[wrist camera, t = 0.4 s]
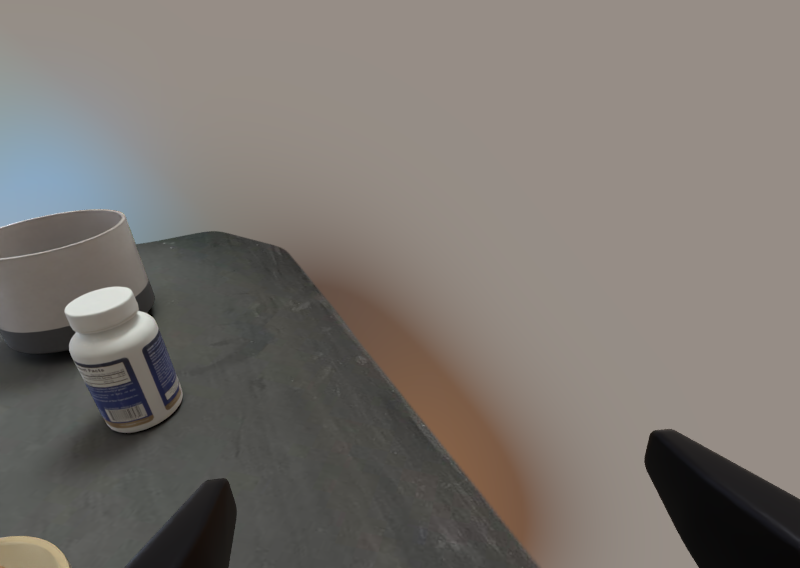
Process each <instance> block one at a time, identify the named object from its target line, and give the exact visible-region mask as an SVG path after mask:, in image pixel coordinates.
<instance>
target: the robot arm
mask: <svg viewBox="0 0 800 568" xmlns="http://www.w3.org/2000/svg"><path fill="white" fill-rule="evenodd" d="M645 467H646V469H647V472H648V474H649V476H650V478H651V480H652V482H653V484H654V486H655V488H656V490H657V492H658V494H659V496H660V498H661V500H662V501H663V504H664V505H665V508H666V510H667V512H668V514H669V516H670V517H671V519H672V522H673V523H674V526H675V527H676V529H677V531H678V533H679V535H680V537H681V539H682V541H683V542H684V544H685V546H686V547H687V549H688V551H689V552H690V554H691V556H692V557H693V559H694V560H695V562H696V564H697V565H698V567H699V568H800V499H798V498H797V497H795V496H793V495H791V494H789V493H787V492H786V491H784V490H782V489H780V488H779V487H777V486H775V485H773V484H771V483H769V482H768V481H766V480H764V479H762V478H760V477H758V476H757V475H755V474H753V473H751V472H749V471H748V470H746V469H744V468H742V467H740V466H738V465H737V464H735V463H733V462H731V461H730V460H728V459H726V458H724V457H722V456H720V455H719V454H717V453H715V452H713V451H711V450H709V449H708V448H706V447H704V446H702V445H701V444H699V443H697V442H695V441H693V440H691V439H690V438H688V437H686V436H684V435H682V434H681V433H679V432H677V431H675V430H672V429H664V430H655V431H653V432H652V433H651V434H650V436H649V441H648V445H647V449H646V454H645ZM236 515H237V509H236V504H235V501H234V497H233V494H232V491H231V488H230V484H229V482H228V480H227V479H224V478H222V479H213V480H207V481H205V482H204V483H203V484H202V485H201V486H200V487H199V488H198V489H197V490H196V491H195V492H194V493H193V494H192V495H191V497H190V498H189V499H188V500H187V501H186V502H185V503H184V504H183V505H182V506H181V507H180V508H179V509H178V510H177V512H176V513H175V514H174V515H173V516H172V517H171V518H170V519H169V520H168V521H167V522H166V523H165V524H164V525H163V527H162V528H161V529H160V530H159V531H158V532H157V533H156V534H155V535H154V536H153V537H152V538H151V539H150V540H149V542H148V543H147V544H146V545H145V546H144V547H143V548H142V549H141V550H140V551H139V552H138V553H137V554H136V555H135V557H134V558H133V559H132V560H131V561H130V562H129V563H128V564H127V565H126V566H125V567H124V568H228V567H229V561H230V554H231V548H232V542H233V535H234V529H235V523H236Z"/></svg>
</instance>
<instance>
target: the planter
mask: <svg viewBox="0 0 800 568" xmlns="http://www.w3.org/2000/svg"><path fill="white" fill-rule="evenodd" d="M108 287H127V288H129V289H131V290H132V292H133V294H134V296H135V299H136V301H137V303H138V308H139V310H138V311H141V312H145V313H147V312H148V311H149V310H150V309H151V307H152V305H153V303H154V300H155V296H154V293H153V290H152V287H151V285H150V282H149V279H148V276H147V274H146V271H145V268H144V266H143V263H142V260H141V257H140V255H139V252H138V249H137V246H136V244H135V241H134V238H133V236H132V233H131V230H130V227H129V225H128V222H127V219H126V217H125V215H124V214H123V213H122V212H119V211H115V210H106V209H97V210H96V209H94V210H79V211H71V212H64V213H57V214H52V215H46V216H42V217H37V218H33V219H29V220H25V221H21V222H17V223H13V224H10V225H6V226H3V227H0V333H1V335H2V336H3V338H4V340H5V342H6V343H7V345H8V346H9V347H10V348H11V349H13V350H15V351H18V352H22V353H30V354H44V353H55V352H62V351H67V350H69V343H70V340H71V338H72V337H73V335H74V334H75V333H76V332H75V331H74V330H73V329H72V328H71V326H70V323H69V321H68V319H67V317H66V315H65V312H64V310H65V307H66V306H67V305H68V304H69V303H70V302H72V301H73V300H75V299H76V298H78V297H80V296H82V295H84V294H87V293H89V292H92V291H95V290H99V289H103V288H108Z"/></svg>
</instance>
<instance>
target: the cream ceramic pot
mask: <svg viewBox="0 0 800 568" xmlns="http://www.w3.org/2000/svg"><path fill="white" fill-rule="evenodd" d="M0 565H1V566H3V567H6V568H72V566H71V565H70V563H69V561H68V559H67V558H66V556H65V555H64V554H63V553H62V552H61V550H60V549H59V548H58V547H57V546H55V545H53V544H52V543H50V542H49V541H46V540H43V539H40V538H35V537H28V536H11V537H3V538H0Z"/></svg>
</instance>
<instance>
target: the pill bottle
mask: <svg viewBox="0 0 800 568" xmlns="http://www.w3.org/2000/svg"><path fill="white" fill-rule="evenodd" d="M138 310H139V308H138V303H137V301H136V299H135V296H134V294H133V292H132V290H131V289H129V288H127V287H108V288H103V289H99V290H95V291H92V292H89V293H87V294H84V295H82V296H80V297H78V298H76V299H75V300H73V301H72V302H70V303H69V304H68V305H67V306H66V307H65V310H64V312H65V315H66V317H67V319H68V321H69V323H70V326H71V328H72V329H73V330H74V331H75V332H76V333H75V334H74V335H73V337H72V338H71V340H70V343H69V351H70V354H71V357H72V359H73V360H74V362H75V364H76V366H77V368H78V370H79V372H80V374H81V376H82V378H83V380H84V382H85V384H86V386H87V387H88V389H89V391H90V393H91V395H92V397H93V399H94V401H95V403H96V405H97V407H98V409H99V411H100V413H101V415H102V417H103V418H104V420H105V422H106V424H107V425H108V426H109V427H110V428H111V429H112V430H114V431H117V432H121V433H132V432H138V431H142V430H145V429H148V428H150V427H153V426H155V425H157V424H159V423H160V422H162V421H164V420H165V419H166V418H168V417H169V416H170V415H171V414H172V413H173V412H175V410H176V409H177V408H178V406H179V405H180V403H181V401H182V397H183V393H182V389H181V385H180V383H179V380H178V377H177V375H176V373H175V370H174V367H173V365H172V362H171V359H170V357H169V354H168V352H167V349H166V346H165V344H164V341H163V339H162V336H161V333H160V331H159V328H158V325H157V323H156V321H155V320H154V318H153V317H152V316H150V315H149V314H147V313H145V312H141V311H138Z"/></svg>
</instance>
